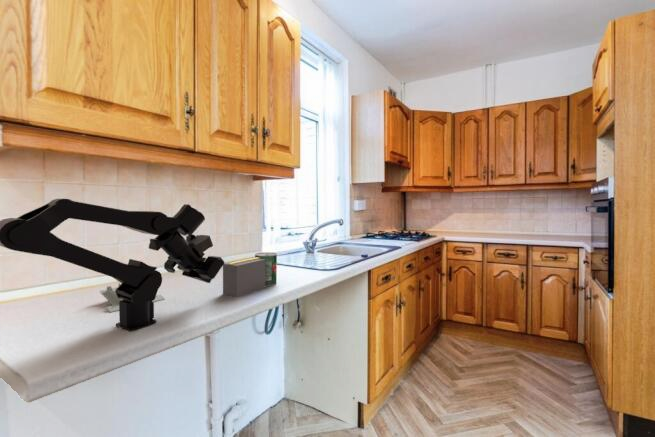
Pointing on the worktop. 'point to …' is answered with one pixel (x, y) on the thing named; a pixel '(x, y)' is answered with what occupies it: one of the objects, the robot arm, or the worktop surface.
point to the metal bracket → (114, 300)
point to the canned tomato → (269, 267)
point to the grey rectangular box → (243, 276)
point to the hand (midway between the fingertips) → (209, 281)
